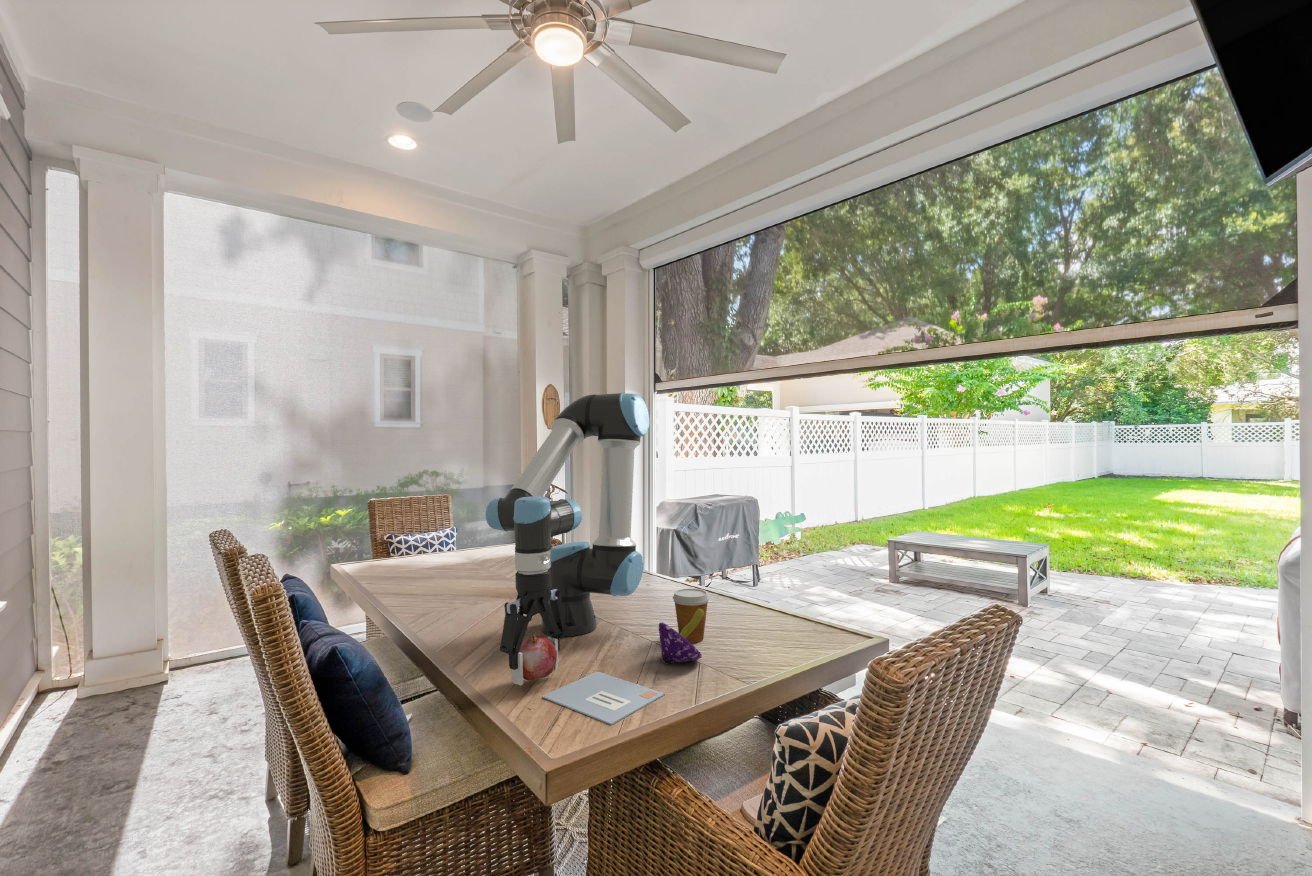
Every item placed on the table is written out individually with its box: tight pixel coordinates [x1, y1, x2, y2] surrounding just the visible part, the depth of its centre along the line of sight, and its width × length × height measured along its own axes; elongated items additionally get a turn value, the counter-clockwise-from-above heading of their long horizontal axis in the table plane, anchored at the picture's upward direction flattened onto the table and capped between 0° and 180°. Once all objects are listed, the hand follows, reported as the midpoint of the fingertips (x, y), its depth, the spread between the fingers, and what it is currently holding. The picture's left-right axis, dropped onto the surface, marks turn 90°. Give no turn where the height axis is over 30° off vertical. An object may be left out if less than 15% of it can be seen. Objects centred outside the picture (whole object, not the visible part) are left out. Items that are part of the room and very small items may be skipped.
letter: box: [541, 670, 666, 726], centre depth 121 cm, size 19×16×1 cm
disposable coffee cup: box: [672, 588, 710, 644], centre depth 155 cm, size 10×10×12 cm
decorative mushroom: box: [658, 609, 704, 665], centre depth 139 cm, size 12×12×15 cm
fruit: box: [519, 631, 557, 682], centre depth 127 cm, size 9×10×10 cm
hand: (535, 675), depth 127 cm, fingers closed on fruit, 9 cm apart
